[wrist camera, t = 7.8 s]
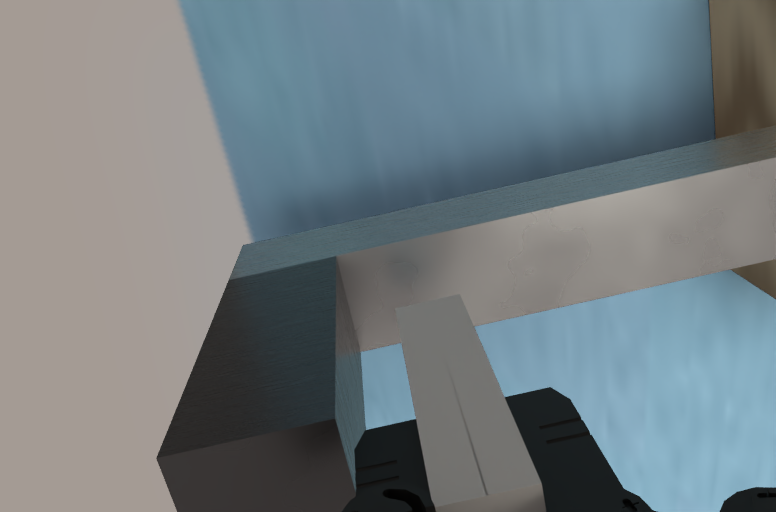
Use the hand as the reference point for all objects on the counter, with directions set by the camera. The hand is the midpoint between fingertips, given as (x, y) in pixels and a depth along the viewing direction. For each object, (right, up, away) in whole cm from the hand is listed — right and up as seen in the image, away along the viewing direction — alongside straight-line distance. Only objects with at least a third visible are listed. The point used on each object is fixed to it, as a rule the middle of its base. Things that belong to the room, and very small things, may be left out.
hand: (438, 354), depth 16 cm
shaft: (+7, +4, +6) cm, 10 cm away
